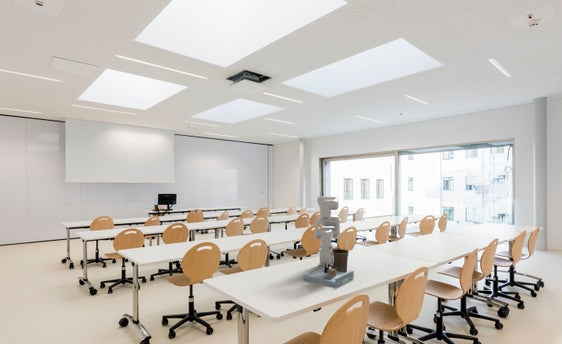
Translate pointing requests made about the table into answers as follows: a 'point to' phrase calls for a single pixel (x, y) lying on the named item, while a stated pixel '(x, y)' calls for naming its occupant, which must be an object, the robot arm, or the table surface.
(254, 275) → the table surface
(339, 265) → the plant pot
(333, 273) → the walnut cube
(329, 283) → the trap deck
